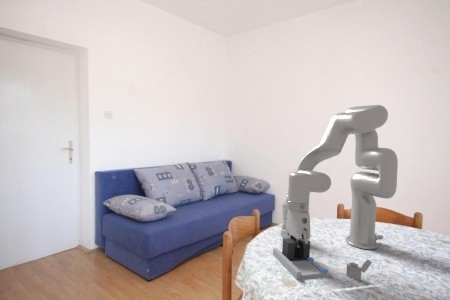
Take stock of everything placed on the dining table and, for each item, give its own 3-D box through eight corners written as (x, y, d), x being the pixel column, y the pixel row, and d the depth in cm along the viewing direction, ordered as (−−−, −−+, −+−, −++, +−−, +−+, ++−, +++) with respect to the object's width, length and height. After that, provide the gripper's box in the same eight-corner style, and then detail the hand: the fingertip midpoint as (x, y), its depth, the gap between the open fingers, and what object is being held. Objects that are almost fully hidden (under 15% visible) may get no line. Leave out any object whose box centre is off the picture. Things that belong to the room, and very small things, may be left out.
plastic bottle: (296, 242, 115) (298, 197, 114) (280, 241, 116) (282, 196, 115) (295, 237, 121) (297, 194, 120) (280, 235, 123) (282, 193, 122)
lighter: (345, 277, 88) (347, 253, 87) (348, 275, 89) (349, 252, 88) (368, 287, 82) (370, 262, 82) (370, 285, 83) (372, 260, 83)
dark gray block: (303, 255, 102) (304, 237, 101) (309, 260, 98) (310, 241, 97) (282, 257, 100) (282, 238, 99) (287, 262, 96) (287, 243, 95)
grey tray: (301, 253, 104) (301, 246, 104) (329, 277, 87) (330, 268, 87) (272, 256, 102) (273, 248, 101) (296, 281, 84) (296, 272, 84)
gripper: (320, 212, 90) (317, 264, 91) (296, 200, 107) (293, 244, 108) (300, 213, 89) (298, 266, 90) (278, 200, 105) (276, 246, 106)
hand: (295, 254), depth 99 cm, fingers closed on dark gray block, 4 cm apart
